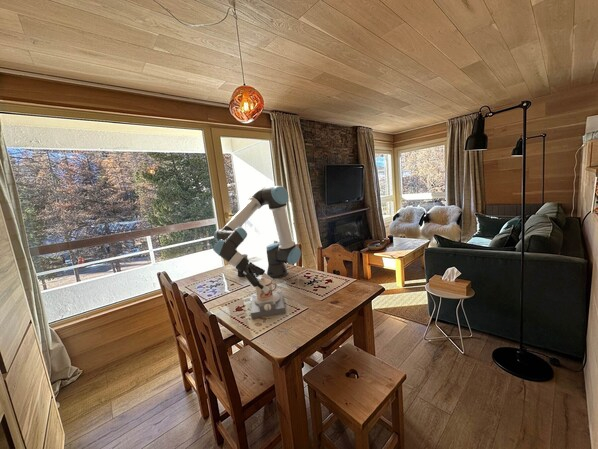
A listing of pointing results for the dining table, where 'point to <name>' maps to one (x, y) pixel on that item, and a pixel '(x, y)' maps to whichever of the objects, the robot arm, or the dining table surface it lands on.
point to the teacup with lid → (260, 293)
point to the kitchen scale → (268, 306)
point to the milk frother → (242, 270)
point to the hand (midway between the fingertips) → (270, 286)
